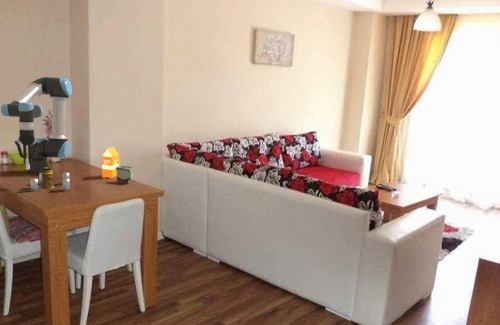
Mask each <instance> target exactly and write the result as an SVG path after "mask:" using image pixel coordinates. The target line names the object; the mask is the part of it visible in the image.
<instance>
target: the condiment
mask: <svg viewBox="0 0 500 325" xmlns="http://www.w3.org/2000/svg"><path fill="white" fill-rule="evenodd" d="M55 188H56V187H55V186H54V171H53V167H51V166H50V167H44V168H43V172H42V185H38V190H44V189H55Z"/></svg>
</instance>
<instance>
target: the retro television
mask: <svg viewBox="0 0 500 325" xmlns="http://www.w3.org/2000/svg"><path fill="white" fill-rule="evenodd" d="M115 170H116V174H117V177H116V182H118V183H122V184H126V183H127V185H129V183H131V179H132V172H133V168H132V167H131V166H127V165H122V166H121V165H119V166H117V167H116V169H115Z"/></svg>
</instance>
